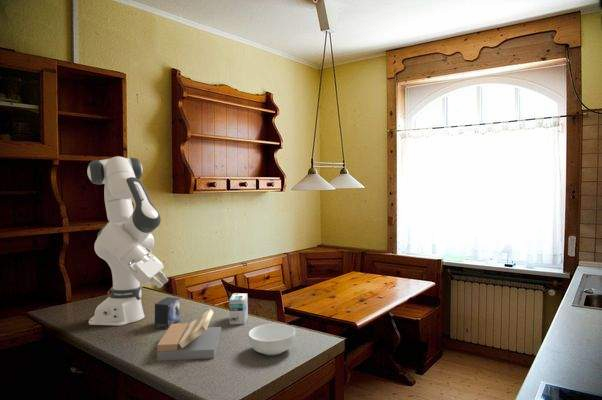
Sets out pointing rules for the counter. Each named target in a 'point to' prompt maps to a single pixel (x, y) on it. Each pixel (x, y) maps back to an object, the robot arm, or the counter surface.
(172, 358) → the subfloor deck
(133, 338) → the counter surface
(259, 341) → the cereal bowl
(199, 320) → the birch plank
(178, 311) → the small box
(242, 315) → the light bulb box
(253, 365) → the counter surface
